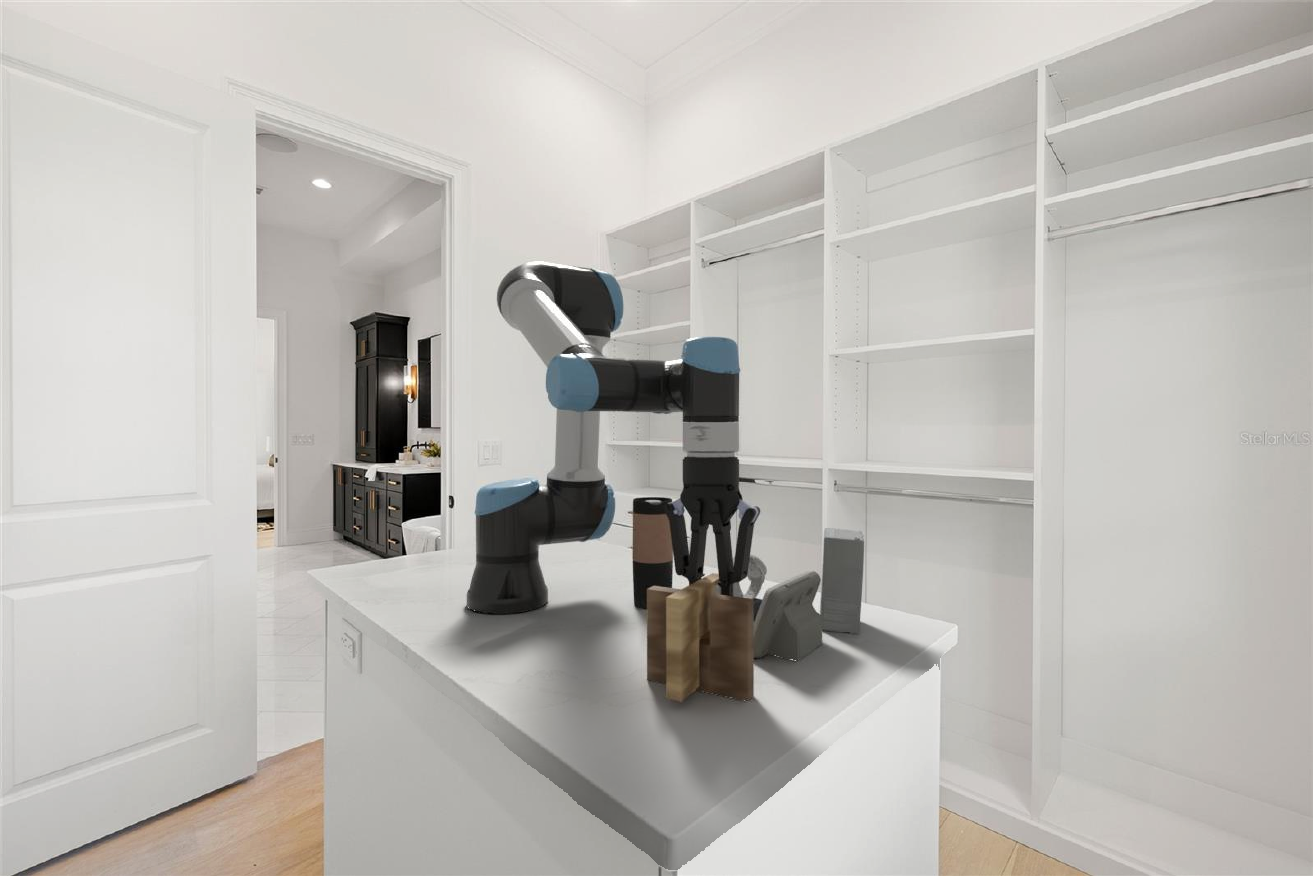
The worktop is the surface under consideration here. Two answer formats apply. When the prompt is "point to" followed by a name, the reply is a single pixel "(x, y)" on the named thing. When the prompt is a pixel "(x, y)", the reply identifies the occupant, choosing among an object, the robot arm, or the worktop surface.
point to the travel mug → (651, 547)
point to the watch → (752, 582)
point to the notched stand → (709, 644)
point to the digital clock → (789, 619)
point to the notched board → (687, 635)
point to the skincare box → (842, 580)
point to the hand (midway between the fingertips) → (711, 630)
